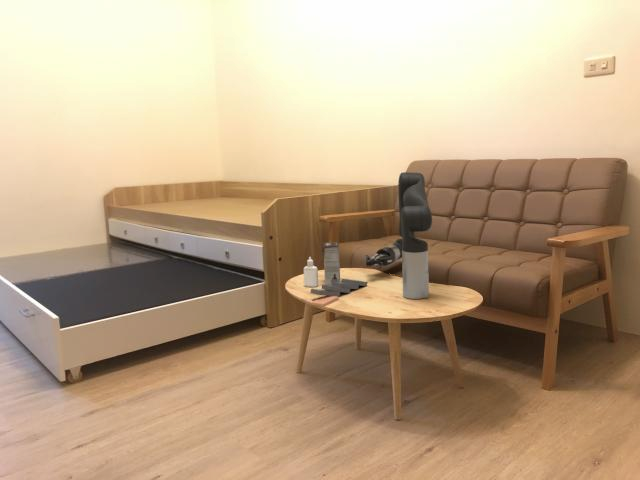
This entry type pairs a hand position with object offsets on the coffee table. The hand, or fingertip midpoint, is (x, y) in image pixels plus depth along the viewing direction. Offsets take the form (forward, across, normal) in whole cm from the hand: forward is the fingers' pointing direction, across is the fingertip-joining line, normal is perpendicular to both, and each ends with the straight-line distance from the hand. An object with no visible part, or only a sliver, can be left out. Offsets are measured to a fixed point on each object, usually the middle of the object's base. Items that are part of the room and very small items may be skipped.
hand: (367, 263), depth 217 cm
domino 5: (+5, 0, +7) cm, 9 cm away
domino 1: (+17, 0, +6) cm, 18 cm away
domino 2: (+22, -1, +6) cm, 23 cm away
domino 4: (+11, 0, +7) cm, 13 cm away
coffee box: (+7, -13, +8) cm, 17 cm away
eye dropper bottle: (+16, -18, +8) cm, 25 cm away
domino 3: (+26, 0, +7) cm, 27 cm away
